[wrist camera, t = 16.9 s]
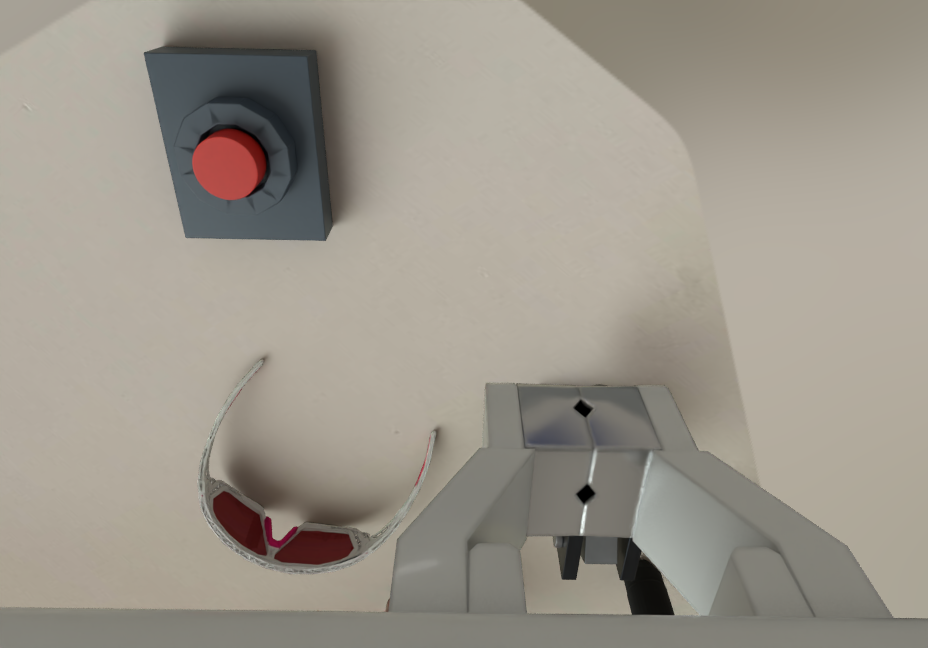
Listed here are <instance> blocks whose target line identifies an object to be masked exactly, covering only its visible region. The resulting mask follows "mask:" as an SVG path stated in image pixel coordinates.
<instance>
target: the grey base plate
mask: <svg viewBox="0 0 928 648" xmlns="http://www.w3.org/2000/svg"><path fill="white" fill-rule="evenodd" d="M144 56H145V61H146V65H147V69H148V74H149V78H150V83H151V87H152V92H153V96H154V100H155V105H156V109H157V114H158V118H159V122H160V127H161V131H162V136H163V140H164V144H165V149H166V153H167V158H168V162H169V167H170V171H171V175H172V180H173V184H174V189H175V193H176V197H177V202H178V206H179V211H180V215H181V220H182V224H183V228H184V233H185V237H186V238H216V239H267V240H318V241H326V239H327V237H328V235H329V233H330V231H331V229H332V227H333V224H332V214H331V203H330V193H329V182H328V171H327V161H326V150H325V140H324V129H323V118H322V108H321V97H320V87H319V76H318V65H317V55H316V50H282V49H238V48H193V47H160V48H157V49H154V50H150V51H147V52H144ZM222 129H236V130H240V131H242V132H244V133H246V134H248V135H250V136H251V137H252V138H253V139H254V140H255V141H256V142H257V143H258V144H259V145H260V147H261V148H262V150H263V152H264V155H265V158H266V172H265V175H264V177H263V179H262V181H261V182H260V183H259V184H258V185H257V186H256V188H255V189H254V190H253V191H252V192H251V193H250V194H249V195H247V196H246V197H244V198H241V199H237V200H226V199H222V198H219V197H216V196H214V195H212V194H211V193H209V192H208V191H207V190H206V189H204V188H203V186H202V185H201V184H200V183H199V181H198V180H197V178H196V176H195V174H194V170H193V165H192V158H193V154H194V151H195V149H196V147H197V146H198V145H199V144H200V143H201V142H202V141H203V140H205V139H206V138H207V137H209V136H210V135H212V134H213V133H214V132H216V131H219V130H222Z"/></svg>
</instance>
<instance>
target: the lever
mask: <svg viewBox="0 0 928 648" xmlns="http://www.w3.org/2000/svg"><path fill="white" fill-rule="evenodd" d="M593 386H607V385H600V384H599V385H593ZM617 549H618V537H598V536H584V538H583V543H582V549H581V557H582V559H583V561H584V563H585V564H617Z"/></svg>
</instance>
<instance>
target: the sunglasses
mask: <svg viewBox="0 0 928 648" xmlns="http://www.w3.org/2000/svg"><path fill="white" fill-rule="evenodd" d="M263 362H264V360H262V359H261V360H260V361H259V362H257V363H256V364H255V365H254V367H253V368H252V369H251V370H250V371H249V372H248V373H247V374H246V376H245V377H244V378H243V379H242V380H241V381H240V382H239V383H238V385H237V386H236V387H235V389H234V390H233V392H232V393H231V395H230V396H229V397H228V399H227V400H226V402H225V404H224V406H223V408H222V409H221V411H220V413H219V415H218V417H217V419H216V421H215V423H214V425H213V428H212V430H211V432H210V435H209V437H208V440H207V443H206V446H205V448H204V451H203V455H202V458H201V461H200V467H199V474H198V492H199V502H200V508H201V511H202V514H203V516H204V518H205V520H206V522H207V524H208V526H209V527H210V528H211V529H212V530H213V532H214V533H215V534H216V535H217V537H218V538H219V539H220V540H221V541H222V543H223V544H225V545H226V546H227V547H229V548H230V549H231V550H233V551H234V552H236V553H237V554H238V555H240V556H241V557H243V558H244V559H245V560H247V561H249V562H252V563H254V564H257V565H259V566H261V567H264V568H266V569H270V570H275V571H279V572H283V573H288V574H318V573H327V572H335V571H338V570H341V569H344V568H347V567H350V566H352V565H354V564H356V563H358V562H360V561H362V560H363V559H365V558H366V557H367V556H368V555H370V554H371V553H373V552H374V551H376V550H377V549H378V548H379V547H380V546H381V545H382V544H383V543H384V542H385V541H386V540H387V539H388V538H389V537H390V536H391V535H392V534H393V533H394V531H395V530H396V529H397V528H398V526H399V525H400V523H401V521H402V520H403V518H404V517H405V515H406V514H407V512H408V511H409V509H410V507H411V505H412V503H413V502H414V500H415V498H416V496H417V494H418V492H419V490H420V488H421V486H422V483H423V481H424V478H425V475H426V473H427V470H428V467H429V465H430V461H431V456H432V452H433V447H434V442H435V437H436V431H433V432H431V435H430V438H429V443H428V449H427V455H426V458H425V461H424V464H423V467H422V469H421V472H420V474H419V477H418V480H417V482H416V484H415V486H414V488H413V490H412V492H411V494H410V496H409V498H408V499H407V501H406V502H405V503H404V505H403V506H402V508H401V509H400V510H399V511H398V513H397V514H396V515H395V517H394V518H393V519H392V520H391V521H390V522H389V523H388V524H387V525H386V526H385V527H384V528H382V529H381V530H380V531H379V532H377V533H376V534H374V535H372V536H370V535H369V534H368V533H365V532H361V531H359V530H358V529H356V528H351V527H342V526H333V525H325V524H317V523H309V522H305V523H304V524H302V525H300V526H299V527H293V528H292V529H291V530H290V531H289V532H288V534H287V535H286V536H285V537H284V538H283V539H282V540H281V541H276V540H275V539H273V538H272V523H271V519H270V518H269V517H267V516H265V511H264V508H263V507H262V506H261V505H259V504H258V503H256V502H254V501H253V500H251V499H249V498H248V497H246V496H244V495H243V494H241V493H240V492H239V491H237V490H236V489H234V488H233V487H231V486H230V485H228V484H227V483H225V482H223V481H222V480H215V479H214V478H211V477H210V474H209V457H210V453H211V449H212V445H213V442H214V438H215V435H216V432H217V430H218V427H219V425H220V423H221V421H222V419H223V417H224V416H225V414H226V412H227V410H228V409H229V407H230V406H231V404H232V403H233V401H234V400H235V398H236V397H237V395H238V394H239V393H240V391H241V390H242V388H243V387H244V385H245V384H246V383H247V382H248V381H249V380H250V379H251V378H252V376H253V375H254V374H255V373H256V372H257V371H258V370H259V369H260V367H261V366H262V365H263ZM206 470H207V475H206ZM215 489H216V490H215ZM214 490H215V491H214ZM388 526H389V527H388ZM386 528H387V529H386ZM385 529H386V530H385ZM383 530H385V531H384V532H382V531H383ZM380 533H382V534H380ZM356 534H357V536H358V537H357V536H355V535H356ZM378 534H380V535H379V536H377V535H378ZM364 536H365V537H364ZM356 539H357V541H356ZM358 541H359V542H358ZM382 542H383V543H382ZM359 543H360V544H359ZM257 562H258V563H257ZM340 567H341V568H340ZM331 569H332V570H331ZM325 570H328V571H325ZM319 571H320V572H319Z"/></svg>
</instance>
